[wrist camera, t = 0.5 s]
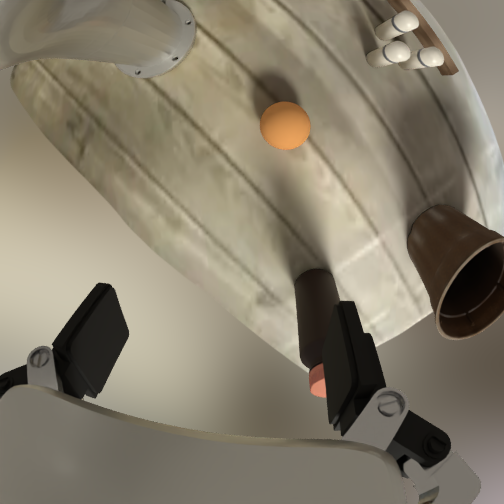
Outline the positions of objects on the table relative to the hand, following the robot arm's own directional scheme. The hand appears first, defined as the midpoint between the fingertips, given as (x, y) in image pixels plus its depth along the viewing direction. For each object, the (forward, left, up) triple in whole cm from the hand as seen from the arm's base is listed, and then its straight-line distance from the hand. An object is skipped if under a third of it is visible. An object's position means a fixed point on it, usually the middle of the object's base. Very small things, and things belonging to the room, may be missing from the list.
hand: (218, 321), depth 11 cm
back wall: (-2, +32, -29) cm, 43 cm away
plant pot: (+27, +16, -29) cm, 43 cm away
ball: (-2, +6, -26) cm, 27 cm away
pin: (+1, +26, -29) cm, 39 cm away
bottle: (+21, -6, -29) cm, 37 cm away
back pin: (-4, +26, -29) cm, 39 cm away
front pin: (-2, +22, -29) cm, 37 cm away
